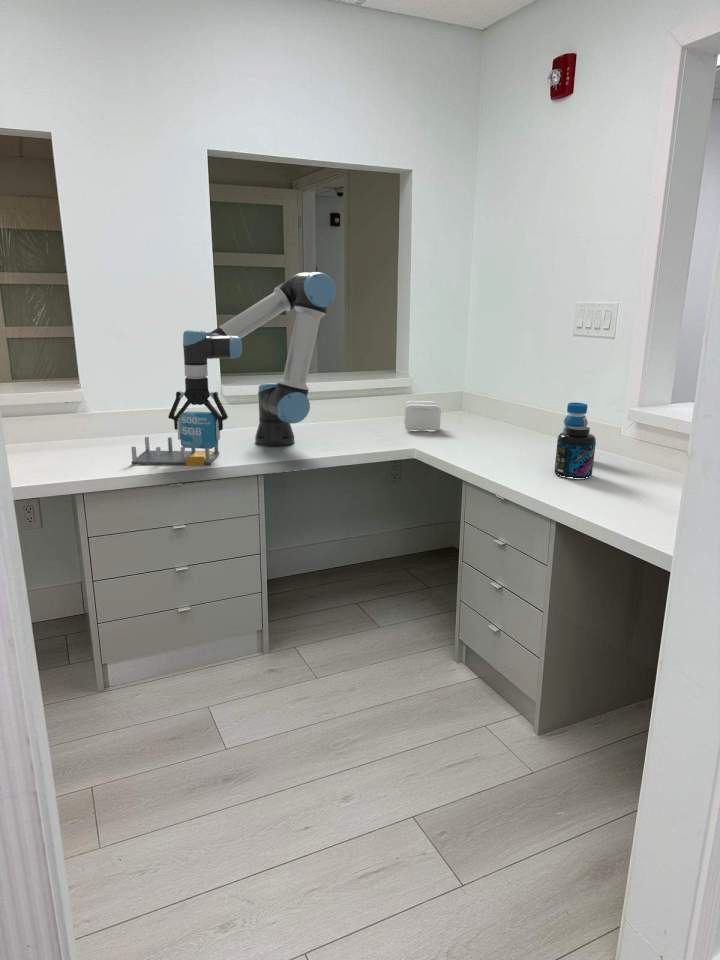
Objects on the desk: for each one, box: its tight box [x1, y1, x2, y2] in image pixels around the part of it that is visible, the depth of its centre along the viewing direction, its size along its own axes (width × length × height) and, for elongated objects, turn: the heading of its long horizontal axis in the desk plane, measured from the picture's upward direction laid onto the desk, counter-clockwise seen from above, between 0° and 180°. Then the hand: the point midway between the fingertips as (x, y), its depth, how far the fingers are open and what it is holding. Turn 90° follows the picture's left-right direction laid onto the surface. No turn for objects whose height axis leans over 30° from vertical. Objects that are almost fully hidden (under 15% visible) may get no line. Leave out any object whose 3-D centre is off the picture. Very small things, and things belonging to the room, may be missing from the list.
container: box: [554, 425, 597, 478], centre depth 219 cm, size 12×12×16 cm
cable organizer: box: [403, 400, 442, 431], centre depth 286 cm, size 15×11×12 cm
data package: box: [179, 410, 219, 450], centre depth 230 cm, size 12×4×12 cm, turn 82°
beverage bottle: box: [562, 401, 589, 432], centre depth 240 cm, size 8×8×20 cm
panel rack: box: [131, 436, 220, 467], centre depth 232 cm, size 26×17×6 cm, turn 91°
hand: (199, 439), depth 231 cm, fingers closed on data package, 12 cm apart
